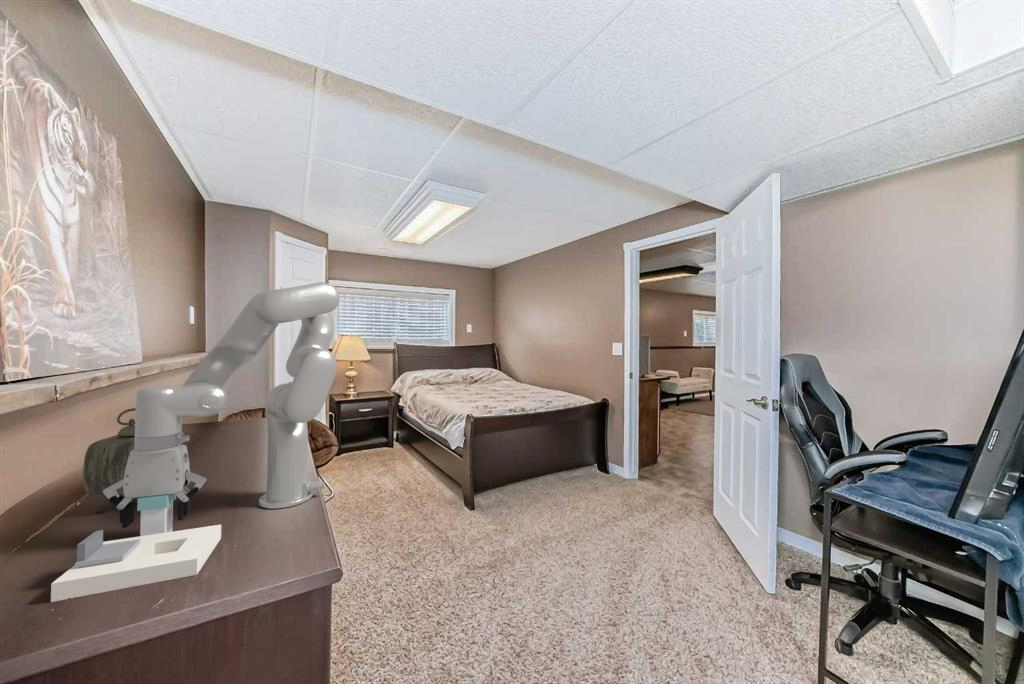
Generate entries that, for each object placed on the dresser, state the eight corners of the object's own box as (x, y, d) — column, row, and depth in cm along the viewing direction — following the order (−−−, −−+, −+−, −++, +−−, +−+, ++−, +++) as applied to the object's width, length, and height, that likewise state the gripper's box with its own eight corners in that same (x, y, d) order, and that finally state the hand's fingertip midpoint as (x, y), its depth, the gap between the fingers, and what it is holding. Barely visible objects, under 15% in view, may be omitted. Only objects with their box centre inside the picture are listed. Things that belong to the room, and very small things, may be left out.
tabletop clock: (142, 492, 105) (144, 404, 105) (173, 493, 105) (175, 404, 105) (81, 515, 91) (84, 413, 91) (117, 516, 90) (120, 414, 91)
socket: (221, 538, 81) (221, 524, 81) (196, 574, 68) (197, 558, 68) (102, 557, 73) (103, 541, 73) (50, 602, 61) (51, 583, 61)
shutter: (140, 543, 73) (140, 523, 73) (122, 560, 67) (123, 539, 67) (97, 549, 70) (97, 529, 70) (74, 568, 65) (75, 546, 65)
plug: (175, 529, 84) (176, 487, 85) (165, 539, 80) (166, 495, 80) (147, 533, 83) (148, 490, 83) (136, 544, 78) (137, 499, 78)
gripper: (213, 435, 88) (211, 508, 88) (115, 441, 81) (112, 520, 81) (201, 443, 82) (199, 522, 81) (93, 450, 75) (90, 537, 74)
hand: (155, 521), depth 81 cm, fingers open, 8 cm apart
